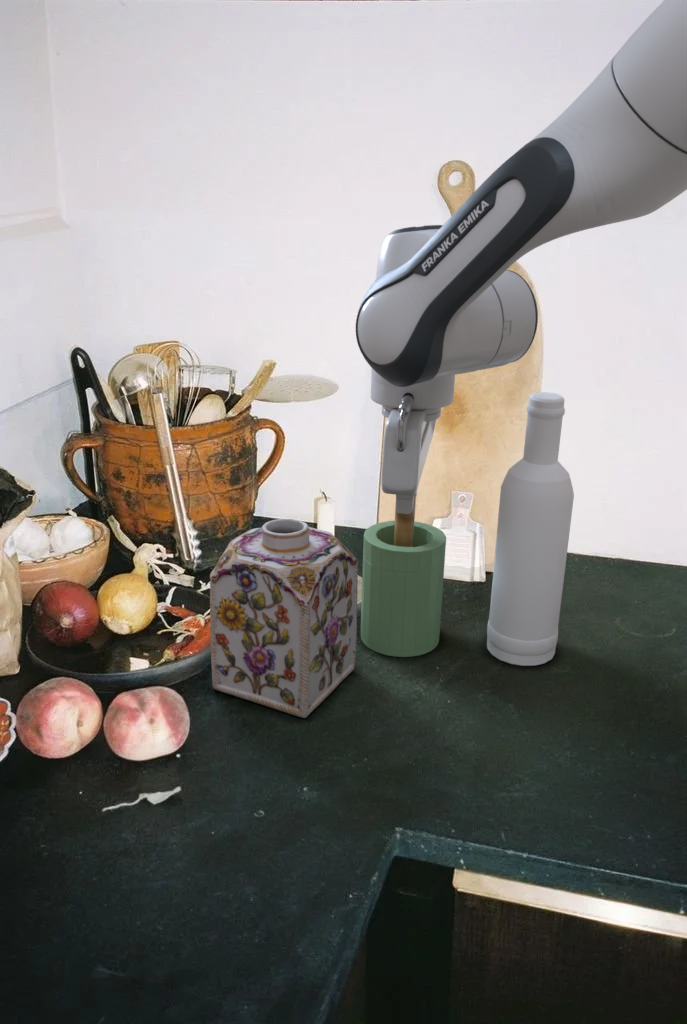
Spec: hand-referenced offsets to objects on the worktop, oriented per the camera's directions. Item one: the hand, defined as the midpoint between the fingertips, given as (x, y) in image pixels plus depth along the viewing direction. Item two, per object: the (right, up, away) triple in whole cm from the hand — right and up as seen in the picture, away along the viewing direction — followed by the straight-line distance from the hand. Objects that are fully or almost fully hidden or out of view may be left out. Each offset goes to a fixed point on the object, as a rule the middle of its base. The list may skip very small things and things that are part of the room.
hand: (406, 506), depth 104 cm
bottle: (+13, -17, +4) cm, 22 cm away
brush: (0, -12, +5) cm, 13 cm away
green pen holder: (0, -15, +6) cm, 16 cm away
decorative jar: (-13, -19, -3) cm, 23 cm away
